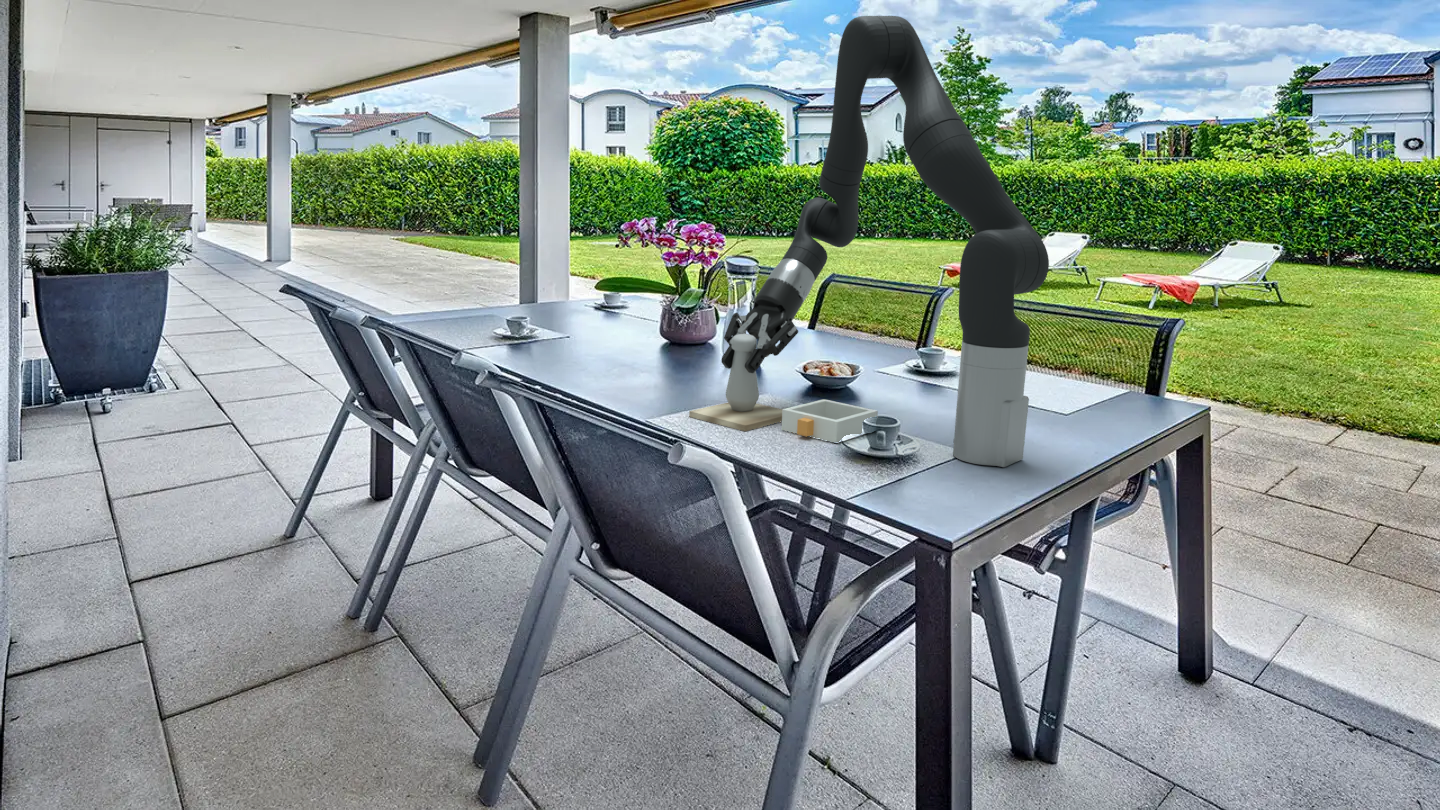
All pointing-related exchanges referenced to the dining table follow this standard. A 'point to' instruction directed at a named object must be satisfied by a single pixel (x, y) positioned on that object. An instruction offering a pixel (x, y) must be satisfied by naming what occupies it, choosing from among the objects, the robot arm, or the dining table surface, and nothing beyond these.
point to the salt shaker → (742, 375)
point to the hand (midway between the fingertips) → (736, 367)
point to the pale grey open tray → (825, 419)
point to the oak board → (739, 416)
